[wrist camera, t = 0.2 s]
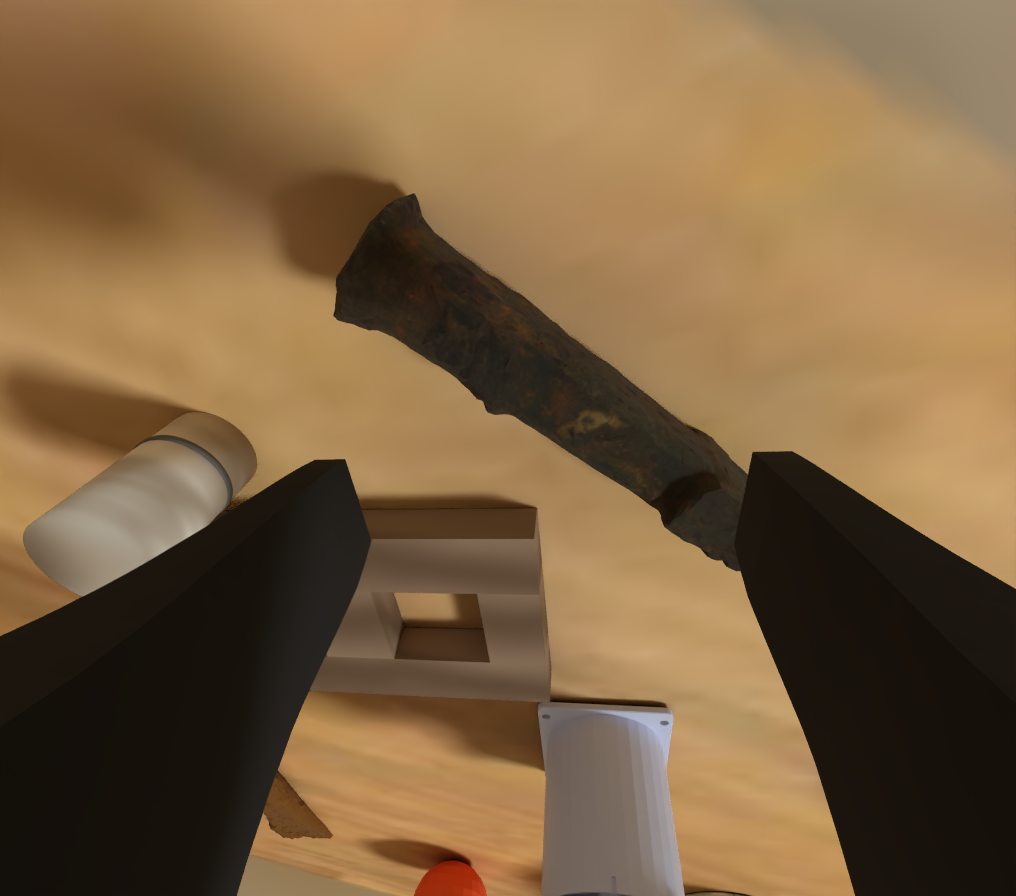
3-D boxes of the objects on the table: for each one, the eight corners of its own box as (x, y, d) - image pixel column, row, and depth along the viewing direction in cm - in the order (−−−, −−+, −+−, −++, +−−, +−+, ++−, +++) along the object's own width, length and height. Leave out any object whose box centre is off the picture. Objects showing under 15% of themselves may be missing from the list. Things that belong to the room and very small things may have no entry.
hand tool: (356, 282, 18) (296, 326, 14) (412, 182, 16) (359, 201, 12) (716, 545, 22) (746, 632, 19) (794, 494, 20) (845, 580, 17)
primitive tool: (335, 832, 47) (320, 879, 44) (282, 827, 48) (263, 872, 45) (268, 723, 37) (241, 774, 34) (201, 718, 37) (170, 768, 34)
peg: (271, 486, 23) (168, 606, 17) (193, 487, 24) (68, 604, 18) (236, 409, 21) (106, 517, 15) (151, 412, 21) (-6, 517, 16)
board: (551, 669, 28) (549, 702, 27) (237, 656, 31) (218, 686, 30) (536, 508, 22) (534, 539, 20) (144, 511, 25) (113, 538, 23)
